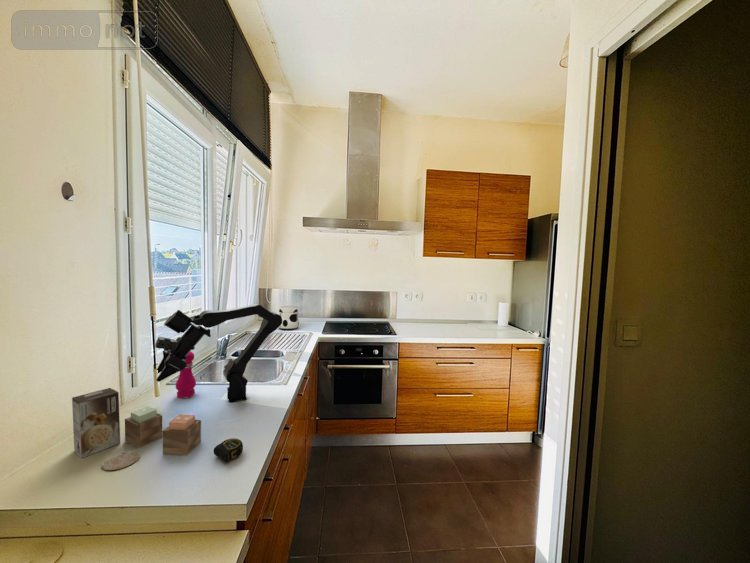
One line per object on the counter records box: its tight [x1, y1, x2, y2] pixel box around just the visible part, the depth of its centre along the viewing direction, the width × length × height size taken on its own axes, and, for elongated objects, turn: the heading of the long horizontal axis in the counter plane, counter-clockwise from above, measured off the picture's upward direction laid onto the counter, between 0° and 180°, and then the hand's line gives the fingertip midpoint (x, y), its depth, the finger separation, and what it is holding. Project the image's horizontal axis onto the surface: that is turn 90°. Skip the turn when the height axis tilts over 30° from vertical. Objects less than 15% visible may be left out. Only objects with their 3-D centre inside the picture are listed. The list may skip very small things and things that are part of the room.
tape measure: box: [213, 438, 244, 464], centre depth 90 cm, size 7×7×4 cm
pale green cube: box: [130, 405, 158, 423], centre depth 97 cm, size 5×5×5 cm
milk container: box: [278, 305, 300, 331], centre depth 259 cm, size 17×17×18 cm
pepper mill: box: [175, 350, 197, 399], centre depth 128 cm, size 7×7×20 cm
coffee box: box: [71, 387, 121, 459], centre depth 92 cm, size 9×6×16 cm
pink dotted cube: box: [168, 413, 196, 430], centre depth 93 cm, size 5×5×5 cm
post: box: [124, 412, 163, 449], centre depth 97 cm, size 7×7×7 cm
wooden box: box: [162, 419, 202, 457], centre depth 93 cm, size 7×7×7 cm
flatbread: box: [101, 451, 141, 471], centre depth 86 cm, size 8×8×1 cm
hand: (156, 376), depth 111 cm, fingers open, 9 cm apart
